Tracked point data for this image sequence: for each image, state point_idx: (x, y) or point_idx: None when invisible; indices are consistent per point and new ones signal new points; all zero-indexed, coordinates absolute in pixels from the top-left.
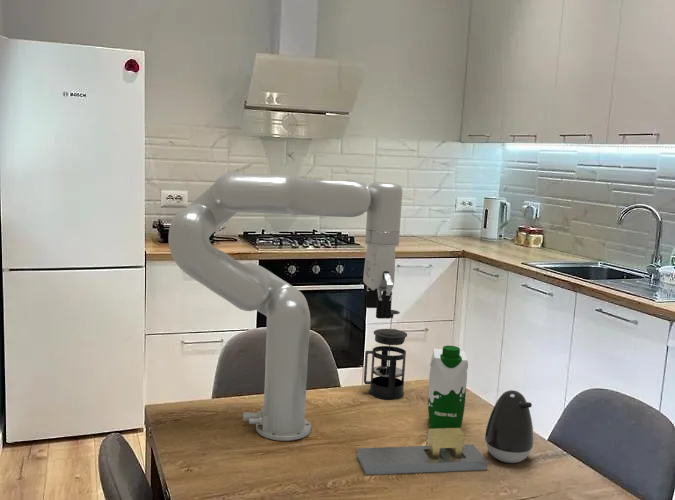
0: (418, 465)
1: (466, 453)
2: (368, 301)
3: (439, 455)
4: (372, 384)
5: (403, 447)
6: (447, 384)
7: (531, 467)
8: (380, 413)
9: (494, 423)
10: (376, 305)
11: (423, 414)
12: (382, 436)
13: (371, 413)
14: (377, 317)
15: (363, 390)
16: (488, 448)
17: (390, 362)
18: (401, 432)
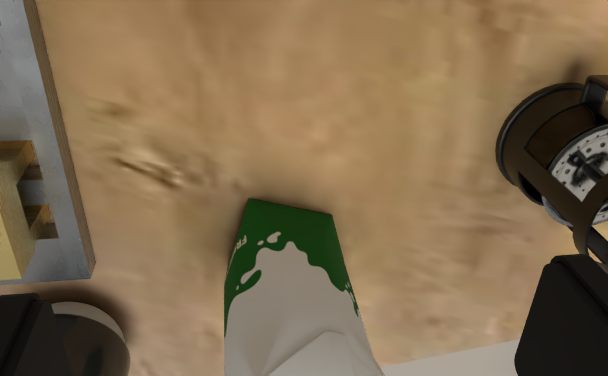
0: None
1: None
2: (589, 328)
3: None
4: (576, 102)
5: (35, 81)
6: (230, 337)
7: None
8: (395, 80)
9: None
10: (531, 365)
11: (365, 206)
12: (203, 41)
13: (400, 49)
14: (2, 305)
15: (604, 68)
16: (59, 306)
17: (575, 200)
18: (235, 111)
